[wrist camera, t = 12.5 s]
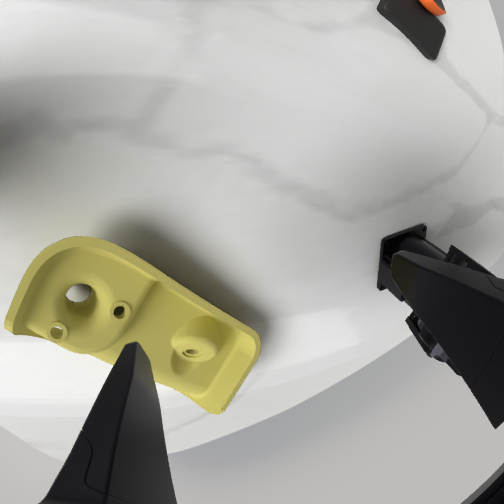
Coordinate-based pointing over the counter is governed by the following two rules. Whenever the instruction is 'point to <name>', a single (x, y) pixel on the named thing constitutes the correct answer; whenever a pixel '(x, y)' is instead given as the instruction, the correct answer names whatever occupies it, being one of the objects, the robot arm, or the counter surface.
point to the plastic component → (134, 319)
